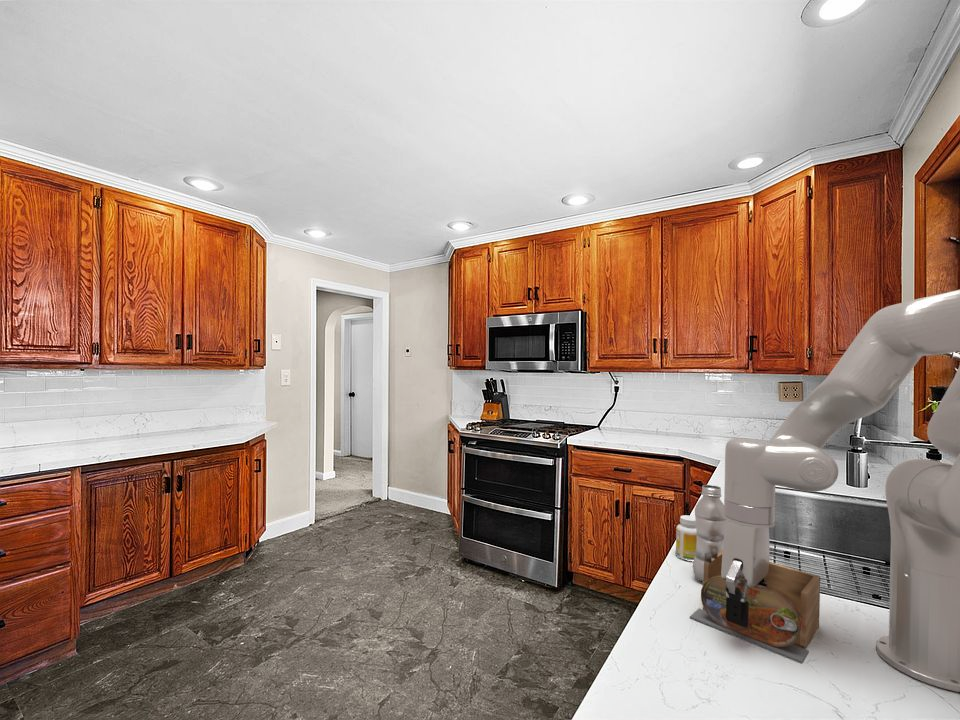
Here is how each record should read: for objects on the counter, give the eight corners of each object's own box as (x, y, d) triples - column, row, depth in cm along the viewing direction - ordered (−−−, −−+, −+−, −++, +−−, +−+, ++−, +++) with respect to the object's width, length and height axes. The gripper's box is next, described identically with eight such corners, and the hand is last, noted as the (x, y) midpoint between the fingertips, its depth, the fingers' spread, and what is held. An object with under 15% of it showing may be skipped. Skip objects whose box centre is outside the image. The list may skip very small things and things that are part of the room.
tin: (699, 617, 84) (700, 570, 84) (706, 611, 86) (707, 565, 86) (798, 657, 73) (800, 603, 73) (803, 649, 75) (805, 596, 75)
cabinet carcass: (819, 627, 82) (820, 568, 82) (805, 650, 75) (806, 585, 75) (721, 593, 94) (722, 541, 94) (701, 610, 87) (703, 554, 87)
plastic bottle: (687, 580, 99) (689, 486, 100) (700, 571, 104) (702, 481, 104) (718, 591, 95) (721, 492, 95) (731, 581, 99) (733, 487, 99)
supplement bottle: (671, 555, 112) (672, 515, 112) (684, 551, 115) (685, 512, 115) (691, 564, 108) (692, 522, 108) (705, 559, 111) (706, 519, 111)
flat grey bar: (808, 652, 75) (808, 650, 75) (802, 663, 72) (802, 661, 72) (699, 609, 87) (699, 608, 87) (689, 618, 84) (689, 616, 84)
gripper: (741, 498, 88) (739, 589, 88) (706, 516, 76) (703, 622, 76) (788, 508, 83) (786, 605, 82) (757, 529, 71) (755, 642, 71)
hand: (746, 613), depth 79 cm, fingers open, 9 cm apart
